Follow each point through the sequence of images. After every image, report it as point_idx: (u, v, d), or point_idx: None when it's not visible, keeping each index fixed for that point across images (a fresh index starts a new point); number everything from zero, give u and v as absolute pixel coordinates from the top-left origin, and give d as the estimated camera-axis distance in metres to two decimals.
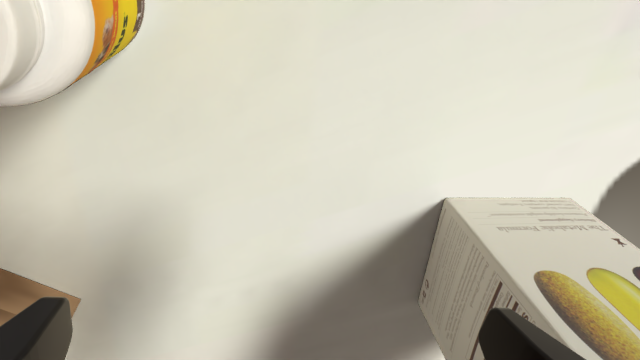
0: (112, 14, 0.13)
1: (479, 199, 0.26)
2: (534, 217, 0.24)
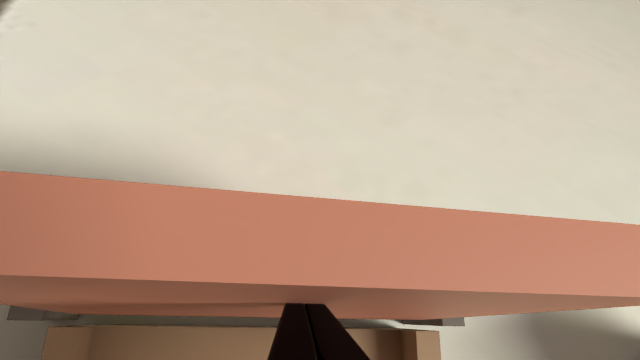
0: None
1: None
2: None
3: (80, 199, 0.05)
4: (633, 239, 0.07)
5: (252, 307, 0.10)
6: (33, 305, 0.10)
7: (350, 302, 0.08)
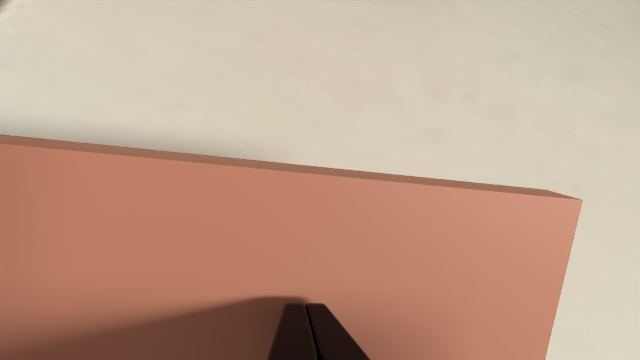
0: None
1: None
2: None
3: (146, 151, 0.08)
4: (500, 187, 0.10)
5: None
6: None
7: (337, 295, 0.09)
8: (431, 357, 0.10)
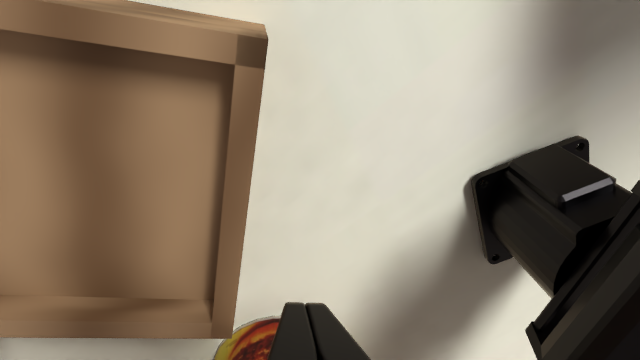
0: None
1: None
2: None
3: None
4: None
5: None
6: None
7: None
8: None
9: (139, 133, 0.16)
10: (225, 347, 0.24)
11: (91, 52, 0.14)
